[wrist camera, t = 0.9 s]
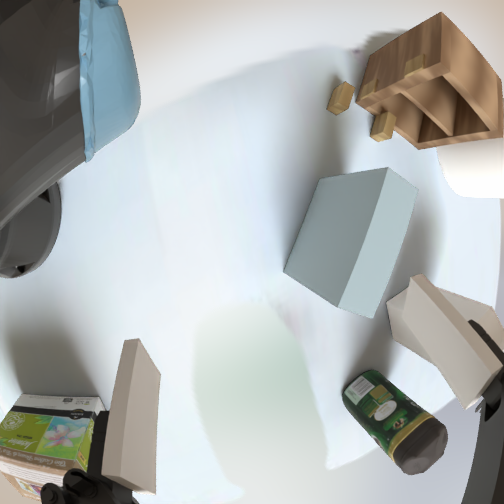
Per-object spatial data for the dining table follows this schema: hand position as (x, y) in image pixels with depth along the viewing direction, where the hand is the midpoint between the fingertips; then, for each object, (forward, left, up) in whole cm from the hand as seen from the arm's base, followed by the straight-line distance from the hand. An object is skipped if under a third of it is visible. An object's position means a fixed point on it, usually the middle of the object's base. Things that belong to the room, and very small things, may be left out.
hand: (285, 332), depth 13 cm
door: (+9, +7, -20) cm, 23 cm away
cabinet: (+13, +29, -20) cm, 37 cm away
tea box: (-14, -31, -20) cm, 40 cm away
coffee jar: (+29, -13, -20) cm, 38 cm away
